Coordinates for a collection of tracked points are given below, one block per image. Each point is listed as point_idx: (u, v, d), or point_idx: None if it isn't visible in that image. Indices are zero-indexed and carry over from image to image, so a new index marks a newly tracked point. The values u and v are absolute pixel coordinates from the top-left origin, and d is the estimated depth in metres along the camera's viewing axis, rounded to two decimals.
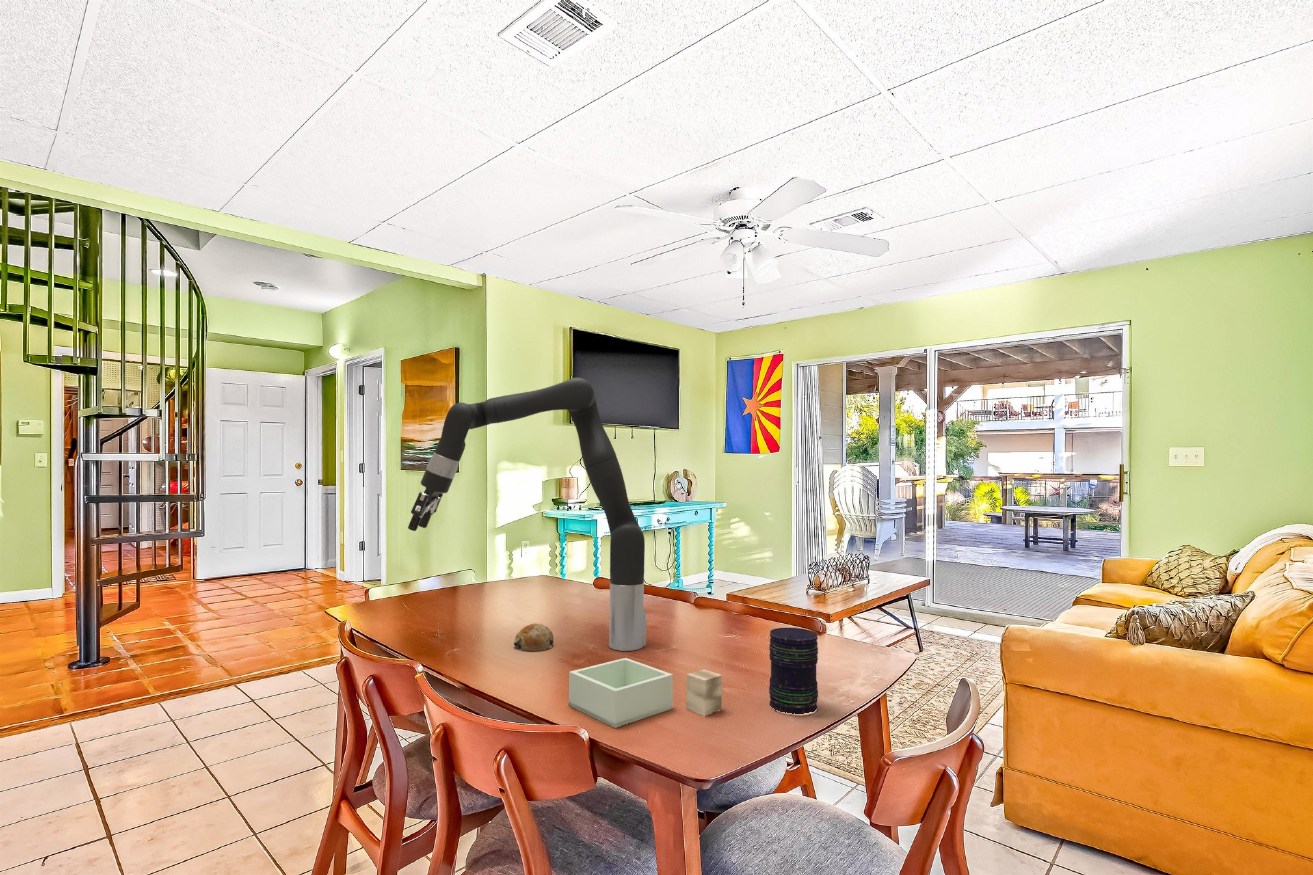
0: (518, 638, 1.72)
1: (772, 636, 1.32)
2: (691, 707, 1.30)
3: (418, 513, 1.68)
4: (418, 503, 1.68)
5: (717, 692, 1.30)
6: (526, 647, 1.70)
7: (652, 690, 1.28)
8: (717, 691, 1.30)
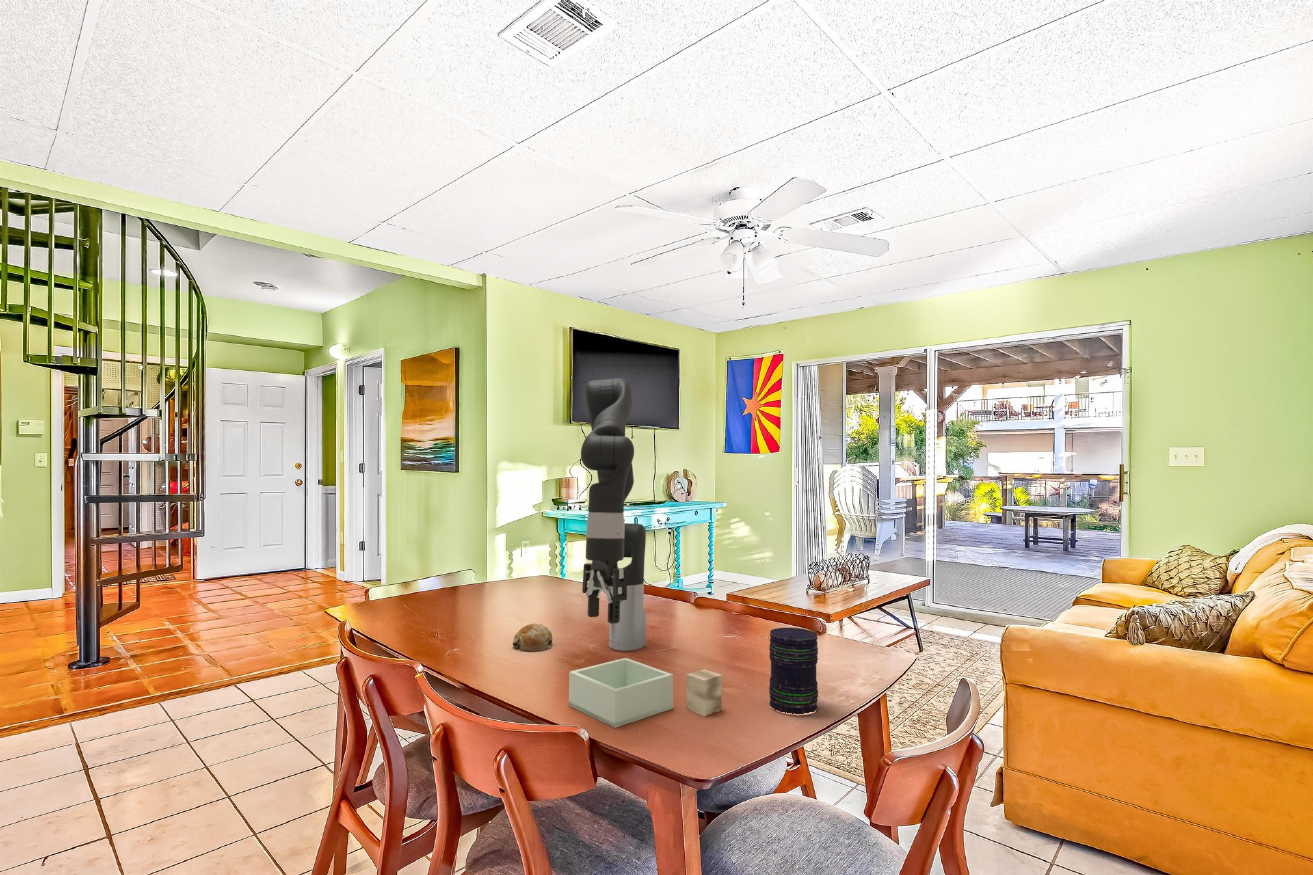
0: (517, 638, 1.72)
1: (772, 636, 1.32)
2: (691, 707, 1.30)
3: (624, 596, 1.21)
4: (620, 584, 1.21)
5: (717, 692, 1.30)
6: (525, 647, 1.70)
7: (652, 690, 1.28)
8: (717, 691, 1.30)
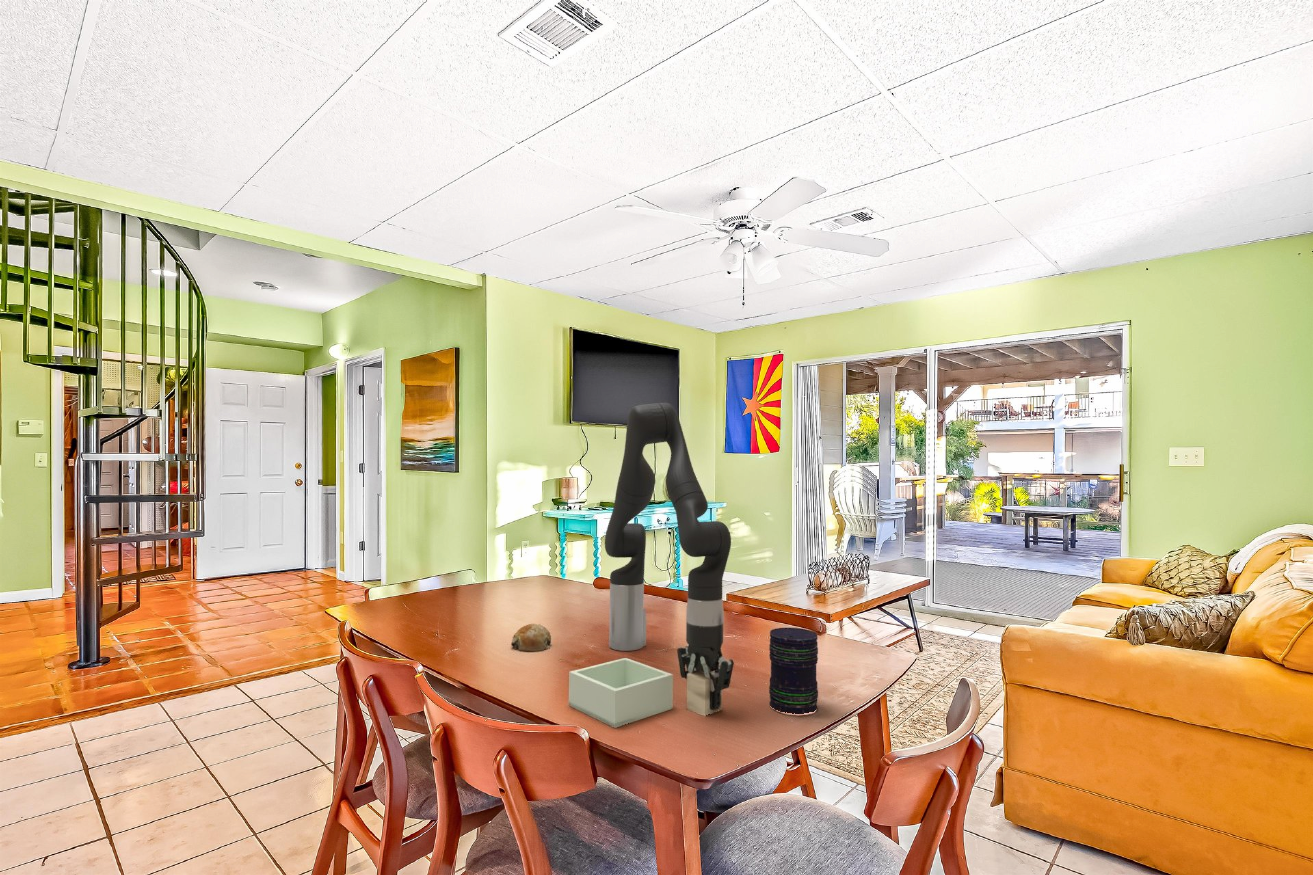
0: (515, 638, 1.72)
1: (772, 636, 1.32)
2: (691, 707, 1.30)
3: (727, 686, 1.28)
4: (726, 676, 1.27)
5: None
6: (523, 647, 1.70)
7: (652, 690, 1.28)
8: None
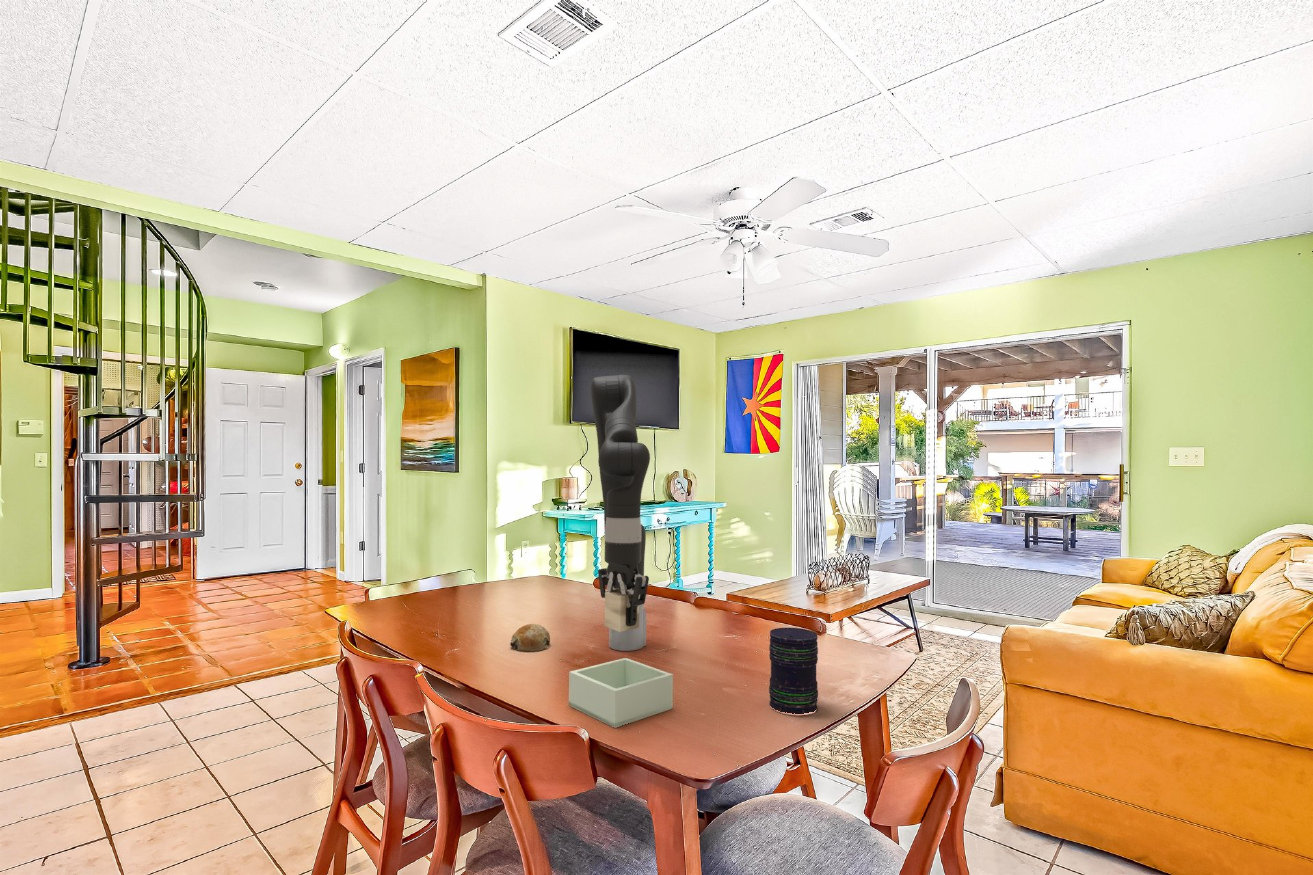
0: (514, 638, 1.72)
1: (772, 636, 1.32)
2: (608, 624, 1.32)
3: (643, 602, 1.29)
4: (641, 591, 1.28)
5: None
6: (522, 647, 1.70)
7: (652, 690, 1.28)
8: None
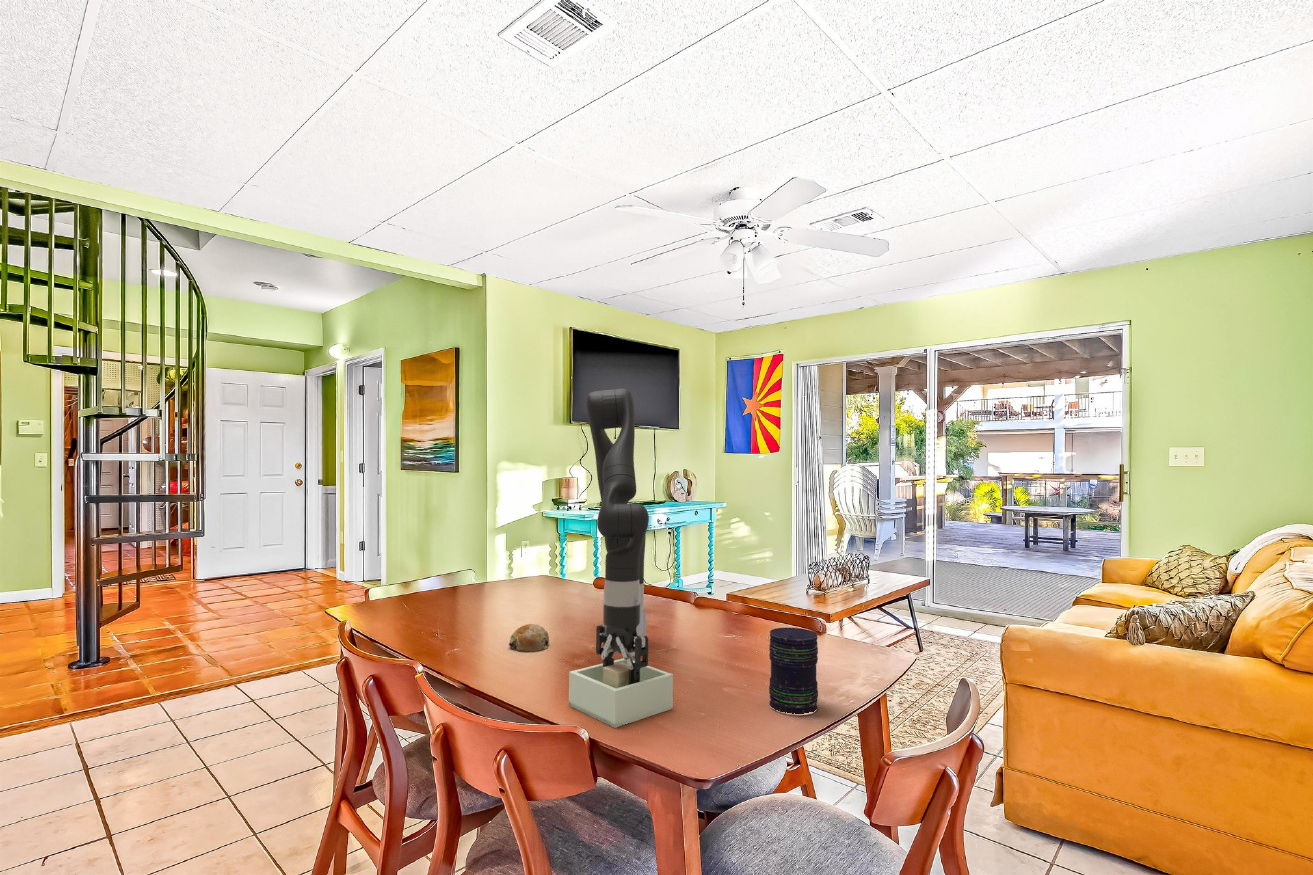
0: (513, 638, 1.72)
1: (772, 636, 1.32)
2: None
3: (646, 663, 1.28)
4: (642, 652, 1.27)
5: None
6: (521, 647, 1.69)
7: (652, 690, 1.28)
8: None
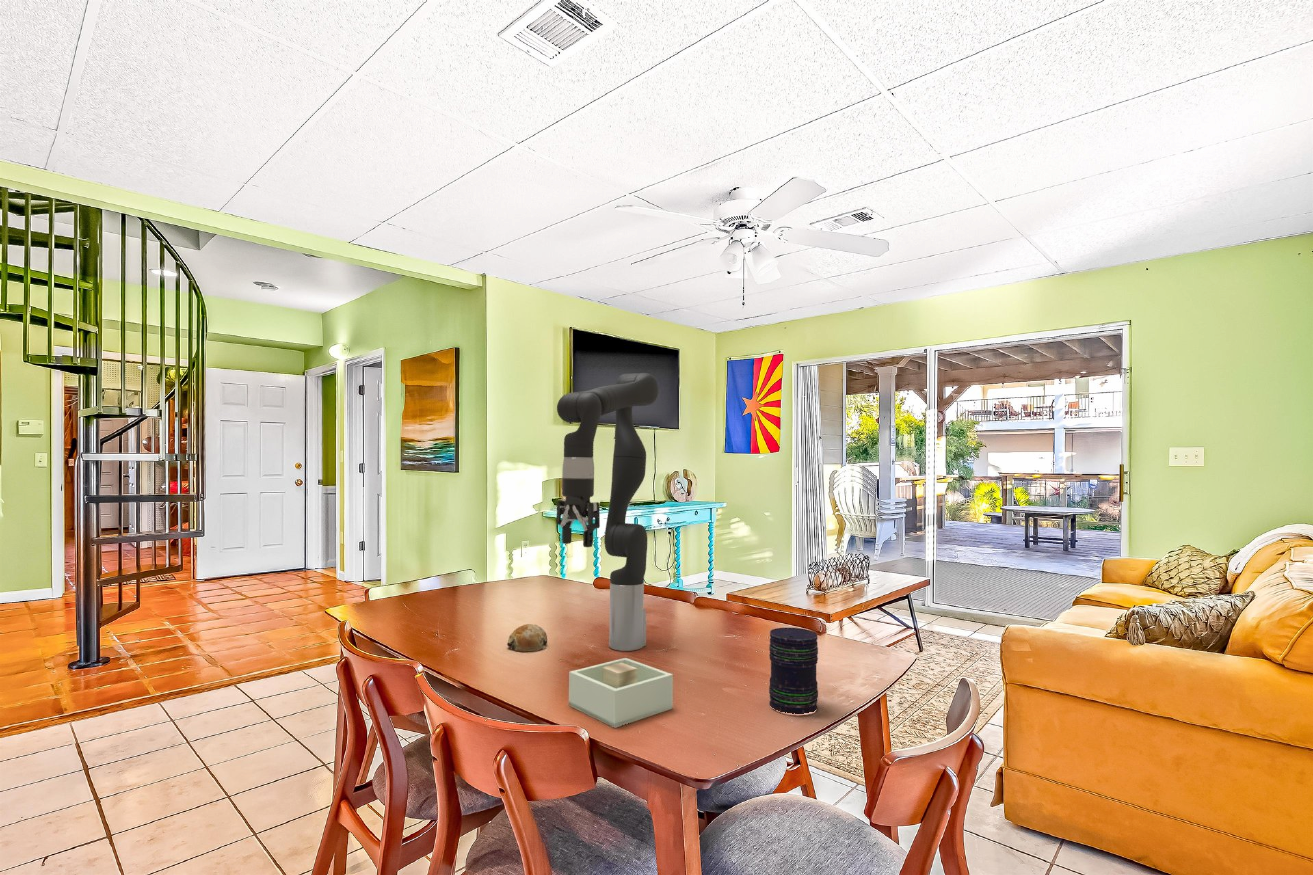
0: (511, 638, 1.72)
1: (772, 636, 1.32)
2: None
3: (598, 525, 1.49)
4: (594, 515, 1.48)
5: None
6: (519, 648, 1.69)
7: (652, 690, 1.28)
8: None
